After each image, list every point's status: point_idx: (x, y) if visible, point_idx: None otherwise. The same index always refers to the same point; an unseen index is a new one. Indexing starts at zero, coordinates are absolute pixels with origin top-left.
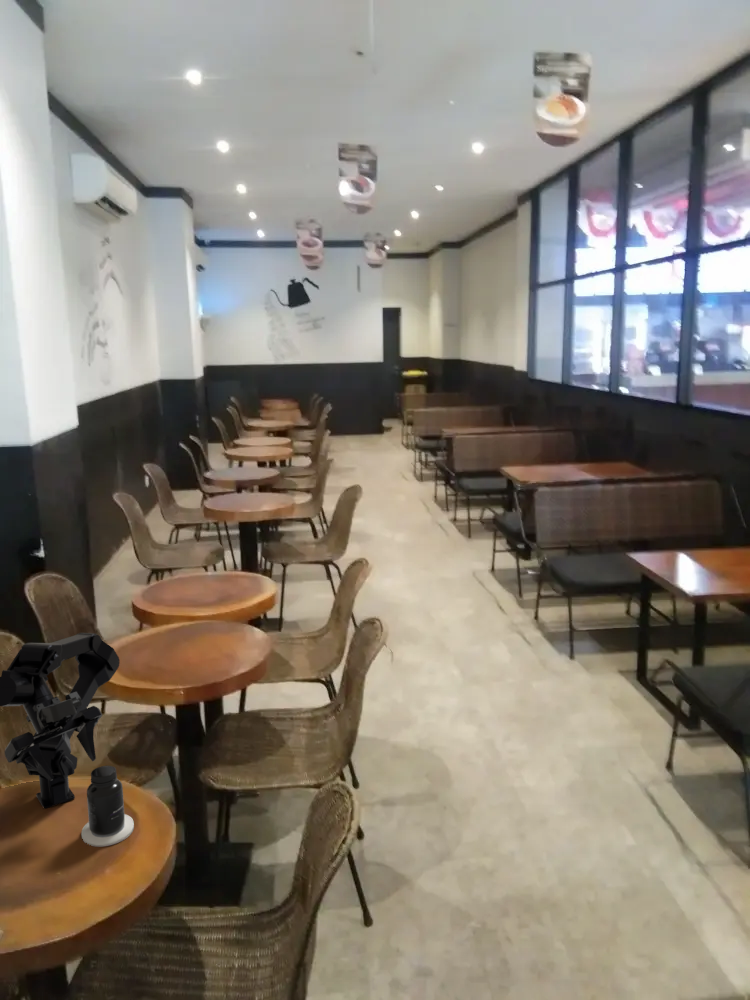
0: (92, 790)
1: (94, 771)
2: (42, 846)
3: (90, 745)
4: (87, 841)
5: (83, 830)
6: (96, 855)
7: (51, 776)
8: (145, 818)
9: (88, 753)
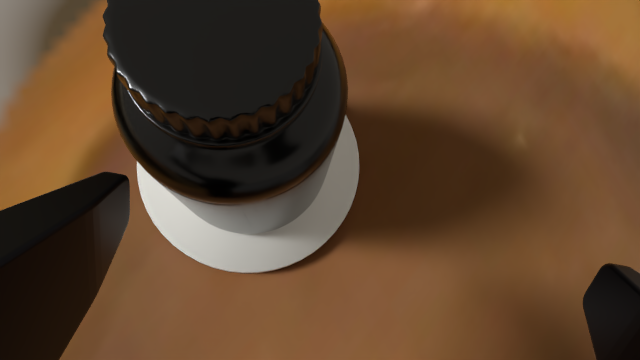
0: (331, 84)
1: (255, 83)
2: (459, 335)
3: (12, 244)
4: (358, 169)
5: (316, 239)
6: (385, 94)
7: (635, 275)
8: (109, 91)
9: (79, 292)
